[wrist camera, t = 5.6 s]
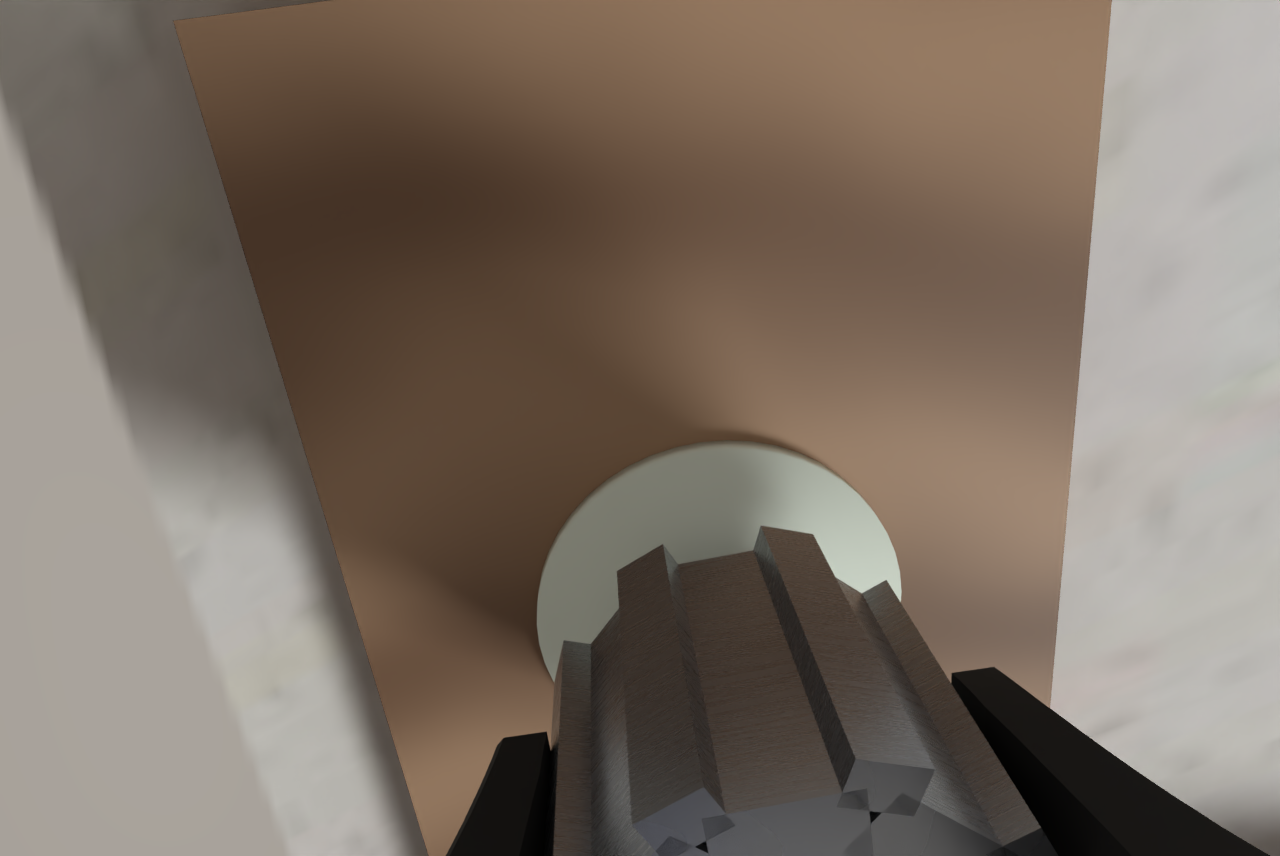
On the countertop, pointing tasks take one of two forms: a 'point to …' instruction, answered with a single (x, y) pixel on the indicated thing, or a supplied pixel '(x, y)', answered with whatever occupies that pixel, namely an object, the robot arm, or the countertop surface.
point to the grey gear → (769, 722)
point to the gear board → (663, 313)
